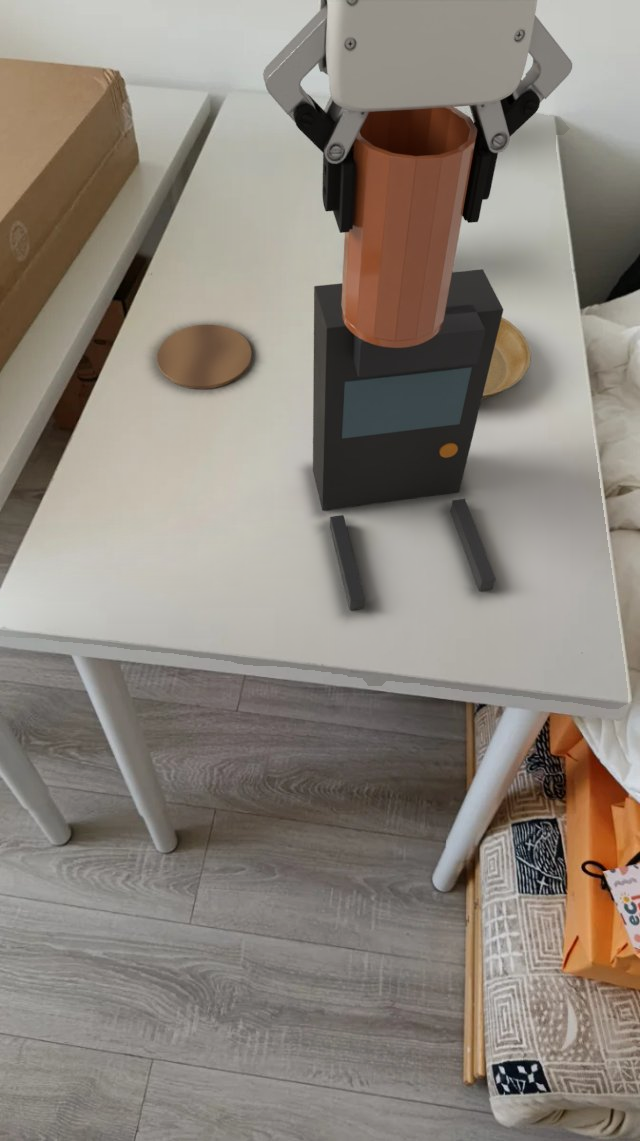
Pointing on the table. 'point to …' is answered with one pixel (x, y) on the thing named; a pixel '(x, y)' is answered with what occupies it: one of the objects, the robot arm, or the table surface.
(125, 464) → the table surface
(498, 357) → the plant saucer
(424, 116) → the orange tube
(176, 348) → the coaster
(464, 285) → the black box with legs
